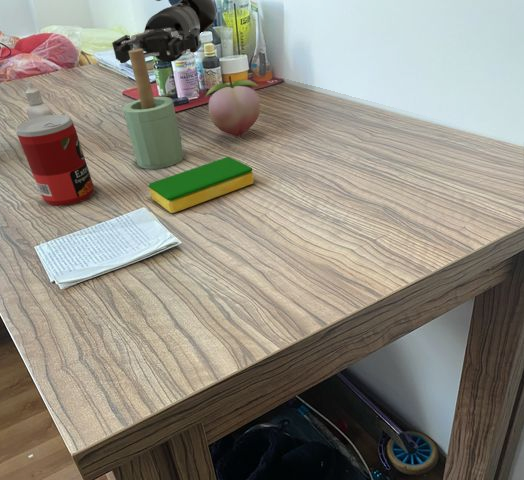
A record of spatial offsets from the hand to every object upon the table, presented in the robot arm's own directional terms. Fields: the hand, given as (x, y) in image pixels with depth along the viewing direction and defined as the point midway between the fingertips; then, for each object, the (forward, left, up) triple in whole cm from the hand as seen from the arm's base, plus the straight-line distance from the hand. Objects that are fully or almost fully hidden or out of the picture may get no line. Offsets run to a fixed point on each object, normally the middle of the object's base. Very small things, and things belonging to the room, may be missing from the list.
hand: (145, 53), depth 81 cm
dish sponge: (-7, -20, -15) cm, 26 cm away
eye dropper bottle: (-12, +20, -15) cm, 28 cm away
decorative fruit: (+12, -6, -15) cm, 20 cm away
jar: (-3, -3, -15) cm, 16 cm away
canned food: (-21, -3, -15) cm, 26 cm away
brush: (-3, -3, -15) cm, 15 cm away
